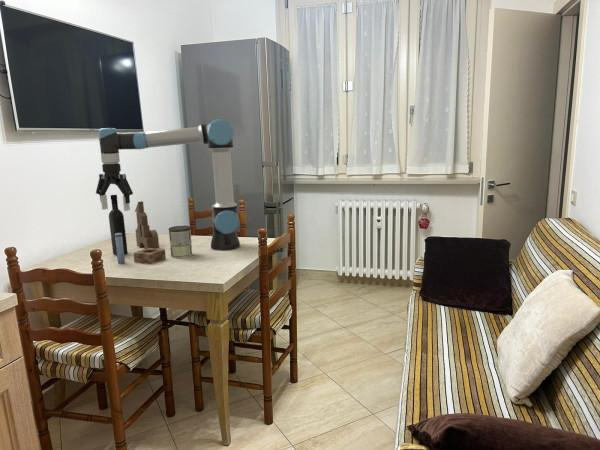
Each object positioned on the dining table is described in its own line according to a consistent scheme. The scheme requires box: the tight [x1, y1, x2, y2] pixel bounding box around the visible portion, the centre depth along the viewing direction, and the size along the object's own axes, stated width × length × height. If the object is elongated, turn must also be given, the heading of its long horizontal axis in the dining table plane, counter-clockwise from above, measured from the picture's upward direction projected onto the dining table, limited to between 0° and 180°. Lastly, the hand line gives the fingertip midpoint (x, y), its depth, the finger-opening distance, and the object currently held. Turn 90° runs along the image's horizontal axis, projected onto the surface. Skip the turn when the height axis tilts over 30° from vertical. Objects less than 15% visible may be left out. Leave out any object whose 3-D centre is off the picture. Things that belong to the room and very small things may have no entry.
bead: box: [133, 248, 167, 265], centre depth 205 cm, size 10×10×4 cm
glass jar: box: [168, 225, 193, 259], centre depth 211 cm, size 10×10×14 cm
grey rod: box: [115, 233, 126, 265], centre depth 201 cm, size 3×3×14 cm
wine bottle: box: [108, 194, 129, 256], centre depth 216 cm, size 6×6×30 cm
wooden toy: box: [134, 201, 160, 249], centre depth 230 cm, size 15×7×25 cm, turn 44°
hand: (115, 209), depth 198 cm, fingers open, 13 cm apart
